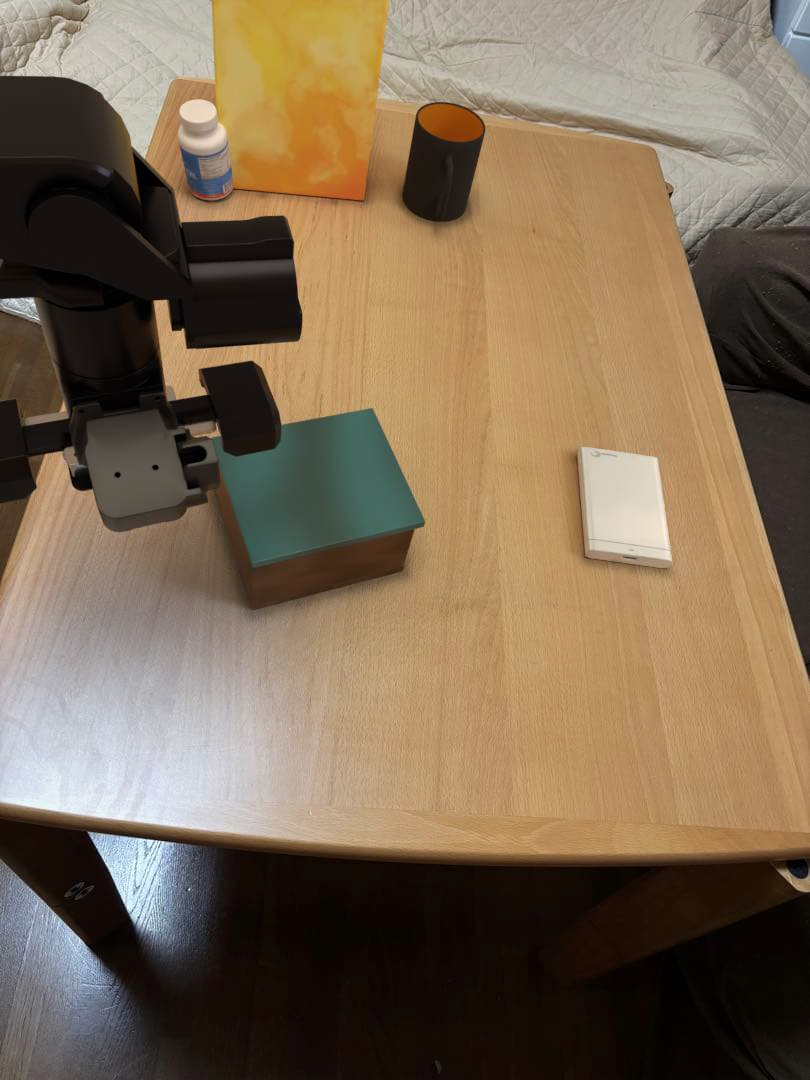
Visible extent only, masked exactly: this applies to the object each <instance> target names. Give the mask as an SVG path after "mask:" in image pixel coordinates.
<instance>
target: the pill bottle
mask: <svg viewBox="0 0 810 1080" xmlns="http://www.w3.org/2000/svg"><path fill="white" fill-rule="evenodd" d="M178 110H179V111H178V112H179V119H180V126H179V127H178V130H177V139H178V140H177V141H178V145H179V151H180V154H181V159H182V164H183V168H184V174H185V178H186V182H187V187H188V189H189V192H190V193H191V194H192V195H193V196H194V197H196V198H198V199H200V200H203V201H217V200H218V201H219V200H222V199H224V198H225V197H227V196H228V195H230V194H231V193H232V191H233V186H234V179H233V173H232V167H231V160H230V153H229V146H228V139H227V133H226V130H225V128H224V126H223V125H222V124H220V123H218V116H217V110H216V105H215V104H213V103H212V102H210V101H209V100H206V99H199V98H197V99H191V100H188V101H186V102H184V103H183V104H181V106H180V107H179V109H178Z"/></svg>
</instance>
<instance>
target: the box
mask: <svg viewBox="0 0 810 1080" xmlns="http://www.w3.org/2000/svg"><path fill="white" fill-rule="evenodd" d="M219 474H220V485H219V488H218V489H214V490H213V492H214V495H215V498H216V502H217V505H218V508H219V510H220V513H221V517H222V520H223V523H224V526H225V530H226V533H227V536H228V538H229V542H230V545H231V548H232V551H233V555H234V557H235V560H236V564H237V567H238V570H239V573H240V576H241V578H242V583H243V587H244V588H245V592H246V596H247V599H248V602H249V604H250V607H251V610H252V611H255V610H259V609H262V608H266V607H269V606H273V605H278V604H280V603H281V604H282V603H285V602H289V601H292V600H293V601H294V600H297V599H301V598H304V597H307V596H311V595H316V594H319V593H324V592H327V591H331V590H334V589H339V588H342V587H346V586H350V585H354V584H358V583H362V582H365V581H370V580H373V579H377V578H381V577H384V576H388V575H392V574H396V573H399V572H403V570H404V567H405V563H406V560H407V556H408V552H409V550H410V546H411V543H412V541H413V537H414V534H415V530H416V529H413V530H409V531H405V532H401V533H397V534H392V535H388V536H384V537H380V538H376V539H372V540H368V541H363V542H359V543H355V544H351V545H347V546H343V547H339V548H335V549H330V550H326V551H322V552H318V553H314V554H310V555H306V556H301V557H297V558H293V559H289V560H285V561H281V562H277V563H273V564H268V565H264V566H260V567H256V568H252V567H251V564H250V561H249V558H248V555H247V552H246V549H245V546H244V543H243V540H242V536H241V533H240V530H239V527H238V524H237V521H236V518H235V515H234V512H233V509H232V506H231V503H230V500H229V497H228V494H227V491H226V488H225V485H224V482H223V479H222V476H221V473H220V470H219Z"/></svg>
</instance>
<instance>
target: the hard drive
mask: <svg viewBox="0 0 810 1080" xmlns="http://www.w3.org/2000/svg"><path fill="white" fill-rule="evenodd" d="M576 456H577V457H576V458H577V469H578V470H577V471H578V472H577V473H578V483H579V496H580V506H581V507H580V508H581V521H582V532H583V543H584V544H583V545H584V557H586V558H588V559H594V560H600V561H606V562H607V561H608V562H614V563H623V564H629V565H637V566H643V567H650V568H657V569H668V568H669V567H670V566H671V565H672V564H673V555H672V548H671V541H670V536H669V527H668V520H667V513H666V506H665V499H664V494H663V493H664V492H663V486H662V485H663V484H662V478H661V471H660V465H659V459H658V458H657V457H656V456H652V455H645V454H639V453H631V452H624V451H619V450H618V451H617V450H612V449H603V448H597V447H592V446H591V447H590V446H581V447H580V448H579V450H578V451H577V453H576Z"/></svg>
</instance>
